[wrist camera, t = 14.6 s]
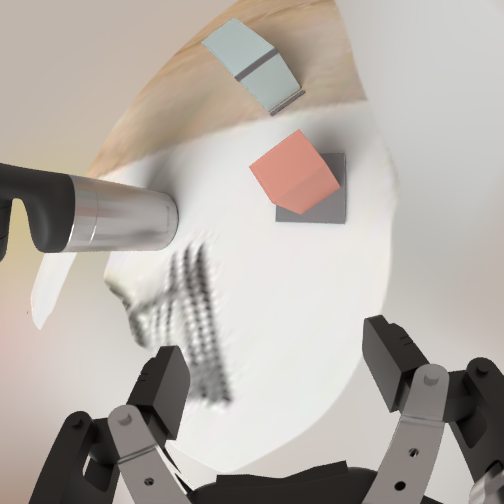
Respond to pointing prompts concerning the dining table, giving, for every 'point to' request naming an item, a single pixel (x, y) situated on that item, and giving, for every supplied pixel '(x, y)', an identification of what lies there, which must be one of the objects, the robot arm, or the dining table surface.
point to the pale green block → (253, 64)
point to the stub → (294, 174)
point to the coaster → (328, 208)
